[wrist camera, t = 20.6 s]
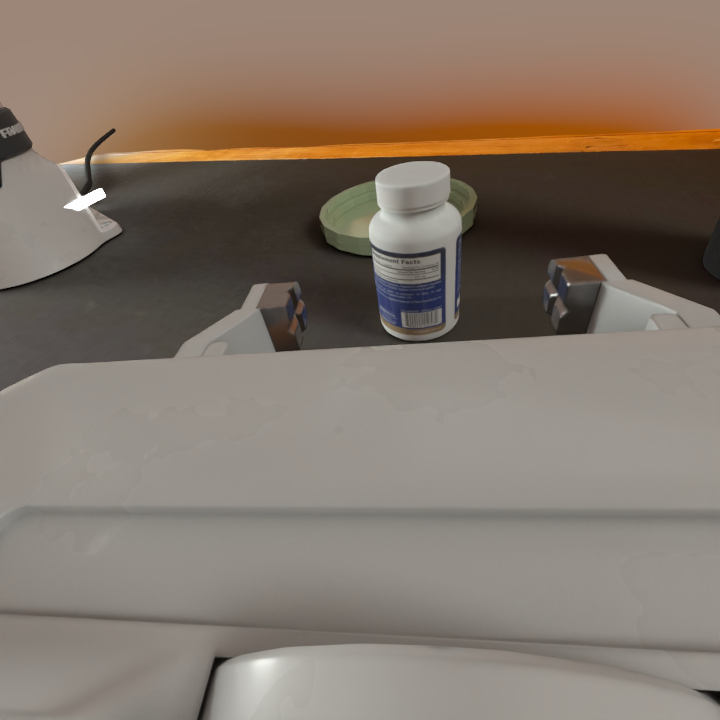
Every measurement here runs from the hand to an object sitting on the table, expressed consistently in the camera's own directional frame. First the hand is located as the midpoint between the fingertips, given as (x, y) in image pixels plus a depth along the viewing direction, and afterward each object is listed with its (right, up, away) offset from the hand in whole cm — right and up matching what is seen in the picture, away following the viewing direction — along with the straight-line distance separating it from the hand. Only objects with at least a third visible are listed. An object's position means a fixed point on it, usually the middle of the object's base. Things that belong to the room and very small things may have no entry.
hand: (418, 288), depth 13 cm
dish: (+2, +12, +27) cm, 29 cm away
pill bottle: (+2, 0, +14) cm, 15 cm away
